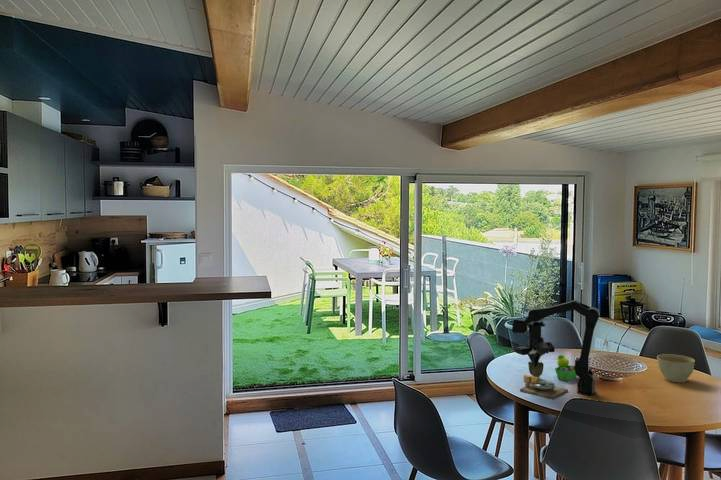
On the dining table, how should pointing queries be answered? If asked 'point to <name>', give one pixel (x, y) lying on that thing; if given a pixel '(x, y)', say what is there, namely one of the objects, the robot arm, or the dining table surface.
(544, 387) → the flange plate
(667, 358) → the planter bowl
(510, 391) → the dining table surface
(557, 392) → the post board
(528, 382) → the dowel pin
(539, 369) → the cup
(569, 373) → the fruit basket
